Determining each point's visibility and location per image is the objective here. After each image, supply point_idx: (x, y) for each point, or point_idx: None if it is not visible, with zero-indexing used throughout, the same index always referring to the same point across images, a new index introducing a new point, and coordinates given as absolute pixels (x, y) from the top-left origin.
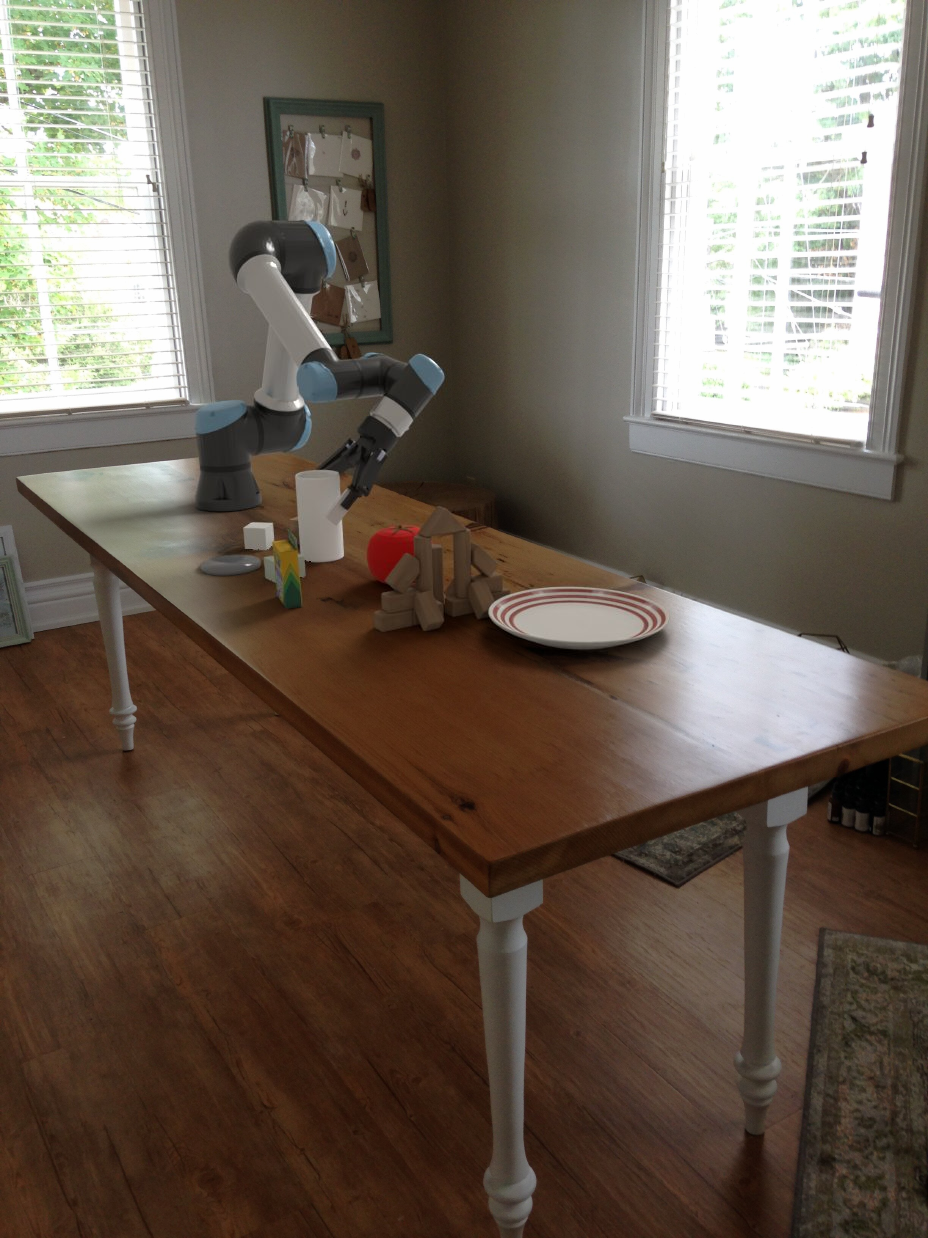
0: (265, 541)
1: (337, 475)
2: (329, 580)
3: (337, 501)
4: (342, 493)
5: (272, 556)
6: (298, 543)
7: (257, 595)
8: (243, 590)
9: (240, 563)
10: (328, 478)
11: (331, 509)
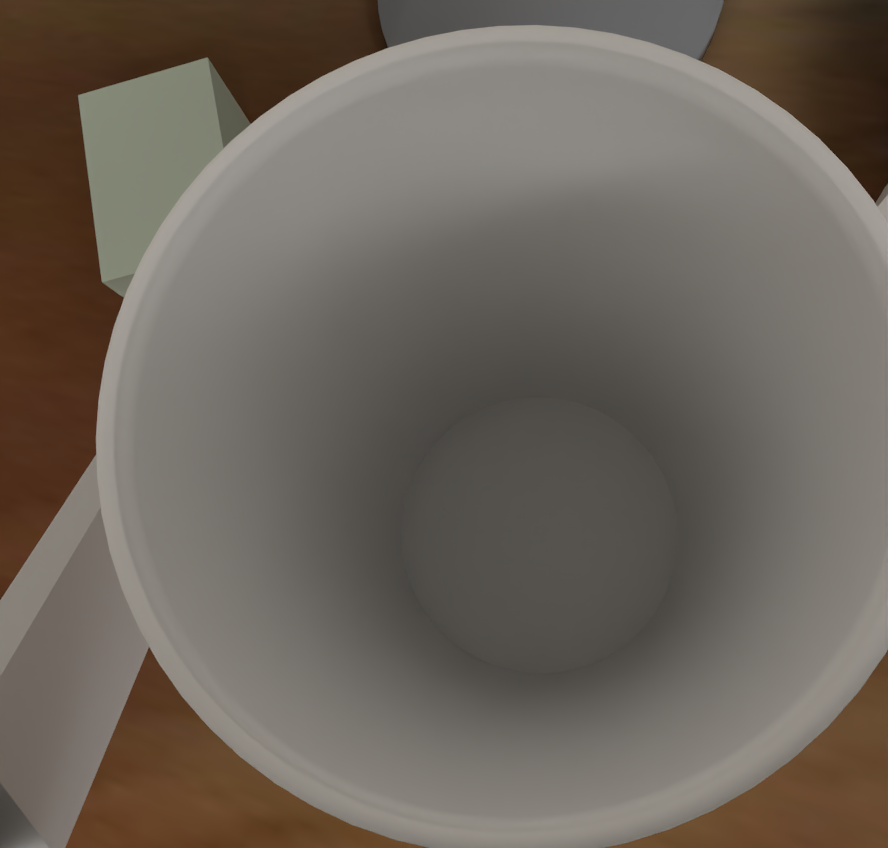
0: (882, 201)
1: (224, 735)
2: (35, 428)
3: (41, 571)
4: (10, 660)
5: (199, 106)
6: None
7: (3, 56)
8: (110, 9)
9: (508, 23)
10: (109, 506)
11: (81, 495)
